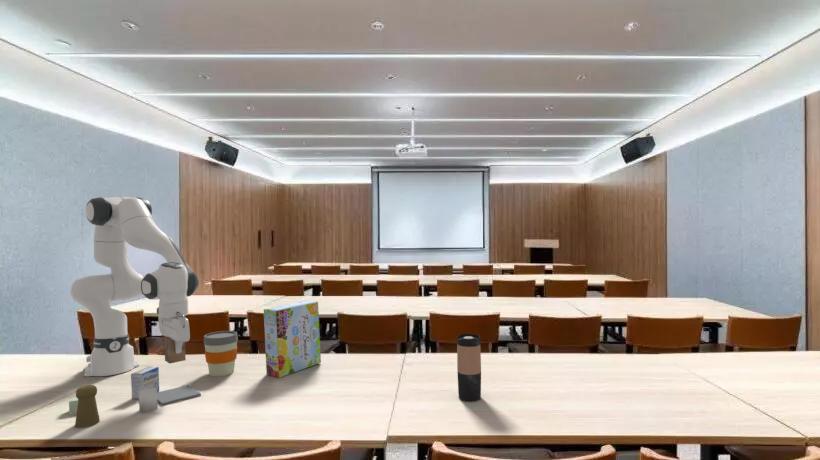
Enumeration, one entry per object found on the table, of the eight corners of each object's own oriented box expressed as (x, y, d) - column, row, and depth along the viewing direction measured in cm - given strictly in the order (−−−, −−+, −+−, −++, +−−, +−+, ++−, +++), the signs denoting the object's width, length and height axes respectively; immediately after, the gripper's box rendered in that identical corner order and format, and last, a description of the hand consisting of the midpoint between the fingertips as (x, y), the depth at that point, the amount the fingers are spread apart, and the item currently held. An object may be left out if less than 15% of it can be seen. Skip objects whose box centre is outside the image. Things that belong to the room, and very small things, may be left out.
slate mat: (151, 396, 159) (151, 393, 159) (188, 387, 168) (188, 384, 167) (162, 405, 151) (162, 403, 151) (200, 395, 159) (200, 393, 159)
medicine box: (142, 399, 156) (142, 373, 156) (131, 398, 157) (130, 373, 157) (159, 391, 164) (159, 366, 164) (148, 390, 165) (148, 366, 165)
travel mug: (483, 394, 155) (482, 334, 154) (479, 403, 147) (478, 339, 147) (460, 392, 157) (459, 332, 157) (455, 400, 150) (454, 338, 150)
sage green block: (72, 409, 149) (72, 397, 149) (95, 406, 151) (94, 394, 151) (69, 414, 145) (68, 401, 145) (92, 411, 148) (91, 398, 148)
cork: (82, 419, 141) (81, 383, 141) (104, 418, 141) (103, 382, 141) (70, 428, 135) (68, 390, 134) (92, 427, 135) (91, 389, 135)
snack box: (307, 360, 198) (305, 299, 197) (321, 363, 193) (320, 301, 192) (264, 374, 180) (262, 307, 180) (278, 378, 175) (277, 309, 175)
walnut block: (164, 360, 159) (164, 337, 159) (180, 357, 162) (179, 334, 162) (169, 363, 155) (168, 339, 155) (185, 360, 159) (184, 336, 159)
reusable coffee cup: (205, 379, 175) (204, 340, 175) (203, 370, 186) (202, 333, 186) (240, 374, 181) (239, 335, 181) (236, 365, 192) (235, 329, 192)
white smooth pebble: (137, 409, 148) (136, 390, 148) (154, 405, 151) (154, 386, 151) (141, 413, 144) (141, 394, 144) (159, 409, 148) (159, 390, 148)
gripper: (194, 312, 153) (195, 355, 153) (174, 306, 168) (175, 344, 168) (173, 315, 149) (175, 359, 149) (154, 308, 164) (156, 347, 164)
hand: (175, 351), depth 159 cm, fingers closed on walnut block, 5 cm apart
